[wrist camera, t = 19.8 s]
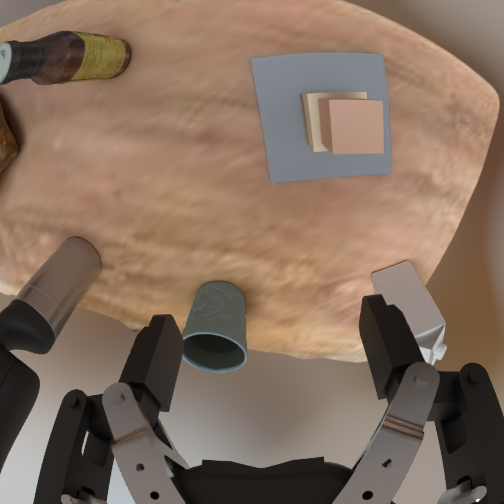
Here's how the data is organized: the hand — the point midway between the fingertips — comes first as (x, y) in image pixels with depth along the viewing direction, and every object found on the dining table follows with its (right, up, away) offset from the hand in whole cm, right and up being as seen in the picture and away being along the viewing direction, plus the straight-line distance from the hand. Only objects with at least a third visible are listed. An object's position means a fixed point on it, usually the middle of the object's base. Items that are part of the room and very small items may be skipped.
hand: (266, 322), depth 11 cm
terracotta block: (+8, +16, +12) cm, 22 cm away
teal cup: (-6, -5, +36) cm, 37 cm away
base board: (+8, +20, +19) cm, 29 cm away
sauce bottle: (-19, +29, +15) cm, 38 cm away
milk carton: (+24, -2, +33) cm, 40 cm away
